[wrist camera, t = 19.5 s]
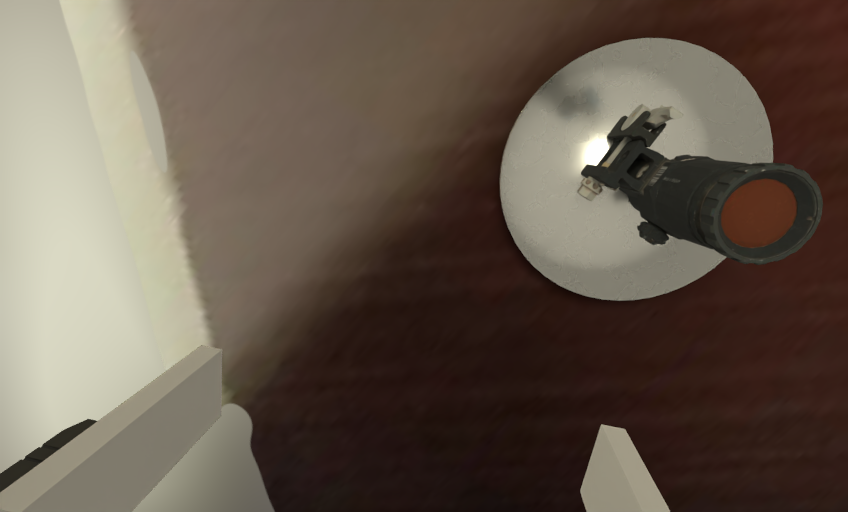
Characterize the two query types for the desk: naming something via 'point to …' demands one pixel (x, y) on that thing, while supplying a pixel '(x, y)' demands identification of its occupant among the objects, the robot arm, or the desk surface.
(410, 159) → the desk surface
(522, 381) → the desk surface
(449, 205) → the desk surface
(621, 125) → the scope
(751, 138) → the base
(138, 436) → the robot arm
